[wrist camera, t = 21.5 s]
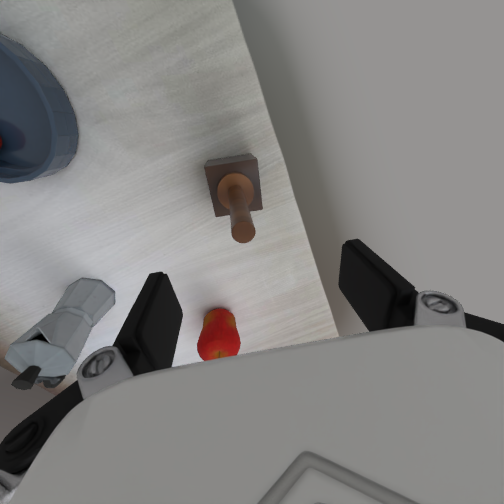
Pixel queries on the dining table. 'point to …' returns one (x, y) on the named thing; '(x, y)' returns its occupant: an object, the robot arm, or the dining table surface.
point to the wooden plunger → (238, 204)
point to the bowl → (32, 117)
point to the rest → (227, 165)
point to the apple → (218, 336)
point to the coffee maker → (60, 335)
